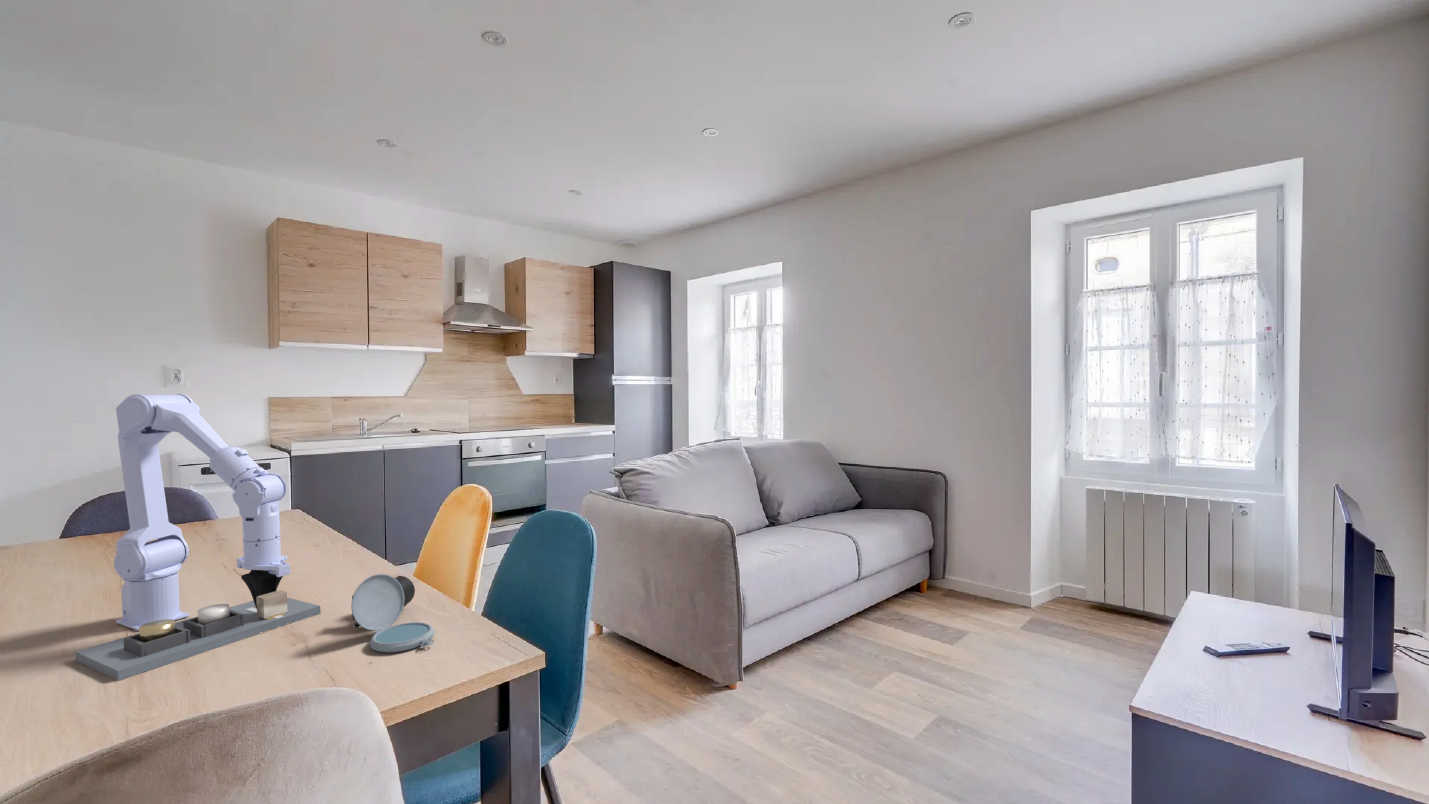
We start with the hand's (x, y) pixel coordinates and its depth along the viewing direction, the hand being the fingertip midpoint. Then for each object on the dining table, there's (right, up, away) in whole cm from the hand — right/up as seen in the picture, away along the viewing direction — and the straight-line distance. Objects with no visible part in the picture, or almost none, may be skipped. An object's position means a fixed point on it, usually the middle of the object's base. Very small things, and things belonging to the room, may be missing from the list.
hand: (264, 608), depth 115 cm
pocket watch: (+32, -3, -10) cm, 34 cm away
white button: (-4, 0, -7) cm, 8 cm away
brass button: (-7, 0, -14) cm, 16 cm away
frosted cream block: (+2, -1, -1) cm, 3 cm away
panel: (-6, -3, -6) cm, 9 cm away
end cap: (+23, -2, +1) cm, 23 cm away
